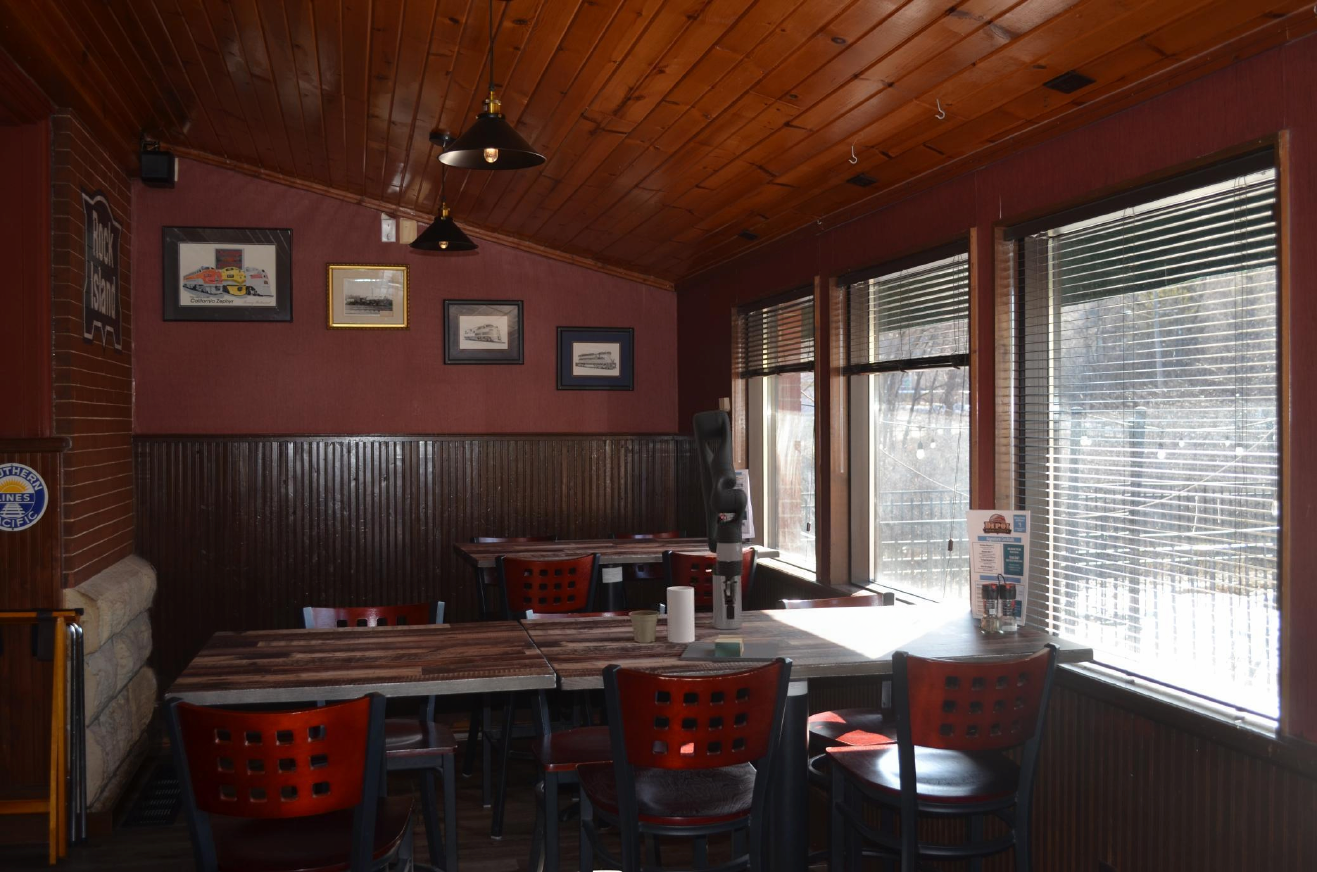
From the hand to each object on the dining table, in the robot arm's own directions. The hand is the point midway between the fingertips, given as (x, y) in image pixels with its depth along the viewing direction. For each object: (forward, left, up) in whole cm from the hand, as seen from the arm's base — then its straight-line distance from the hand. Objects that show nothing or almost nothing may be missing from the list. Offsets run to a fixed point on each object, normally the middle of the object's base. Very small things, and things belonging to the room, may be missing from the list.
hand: (730, 618), depth 307 cm
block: (0, 0, -7) cm, 7 cm away
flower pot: (-16, -28, -10) cm, 34 cm away
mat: (+1, 0, -10) cm, 10 cm away
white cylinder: (-18, -17, -10) cm, 27 cm away
